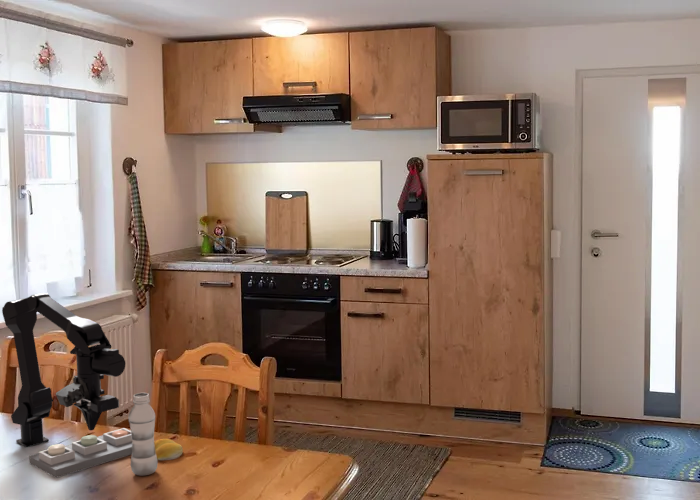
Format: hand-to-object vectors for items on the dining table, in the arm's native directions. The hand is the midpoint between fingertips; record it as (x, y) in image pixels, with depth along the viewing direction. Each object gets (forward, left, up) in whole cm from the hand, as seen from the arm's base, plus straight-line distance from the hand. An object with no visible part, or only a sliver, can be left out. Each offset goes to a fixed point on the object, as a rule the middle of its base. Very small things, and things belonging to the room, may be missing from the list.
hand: (91, 429), depth 217 cm
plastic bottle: (+21, +2, -7) cm, 22 cm away
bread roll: (+14, +13, -7) cm, 21 cm away
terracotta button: (0, +8, -5) cm, 9 cm away
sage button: (0, -1, -4) cm, 4 cm away
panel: (0, -1, -7) cm, 7 cm away
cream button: (0, -10, -4) cm, 10 cm away
